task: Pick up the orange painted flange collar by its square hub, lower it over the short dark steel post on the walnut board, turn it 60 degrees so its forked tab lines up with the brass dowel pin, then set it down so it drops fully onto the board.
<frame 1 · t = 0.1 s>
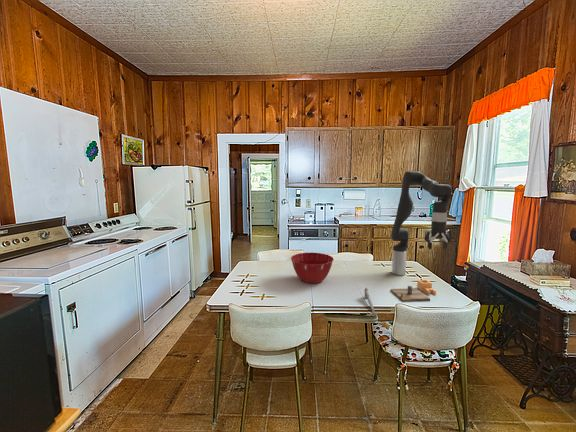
hand: (437, 248, 167), 29 cm above the table, fingers open, 8 cm apart
mixing bowl: (311, 280, 201), on the table
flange: (424, 289, 184), on the table
caliper: (369, 304, 162), on the table
post board: (409, 295, 174), on the table
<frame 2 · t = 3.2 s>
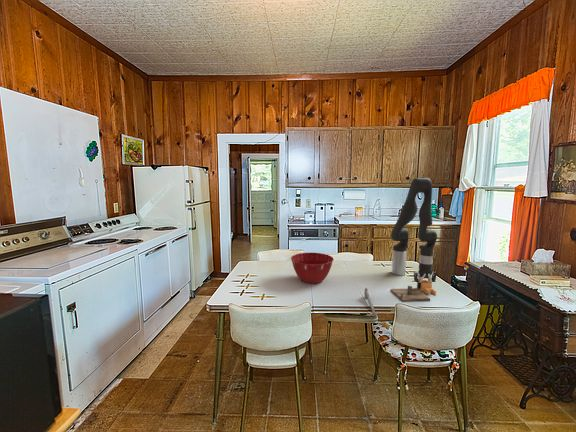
hand: (424, 288, 184), 1 cm above the table, fingers closed on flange, 6 cm apart
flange: (424, 289, 184), on the table, touching gripper
everything else where it was.
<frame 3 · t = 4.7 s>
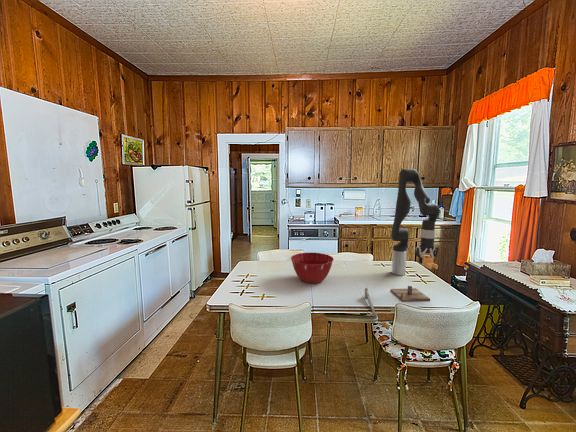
hand: (425, 263, 182), 17 cm above the table, fingers closed on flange, 6 cm apart
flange: (425, 264, 183), point 16 cm above the table, touching gripper
everything else where it was.
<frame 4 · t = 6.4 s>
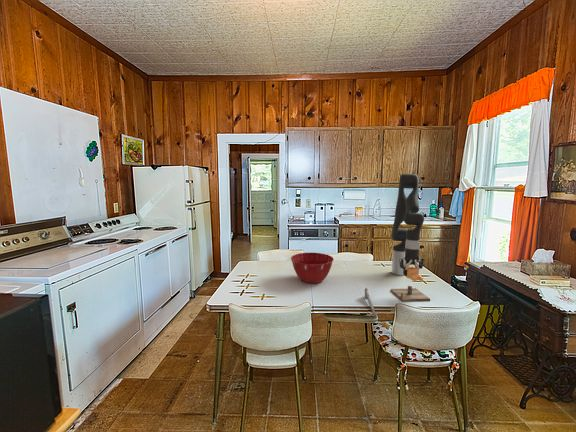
hand: (410, 275, 173), 12 cm above the table, fingers closed on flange, 6 cm apart
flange: (410, 276, 173), point 12 cm above the table, touching gripper
everything else where it was.
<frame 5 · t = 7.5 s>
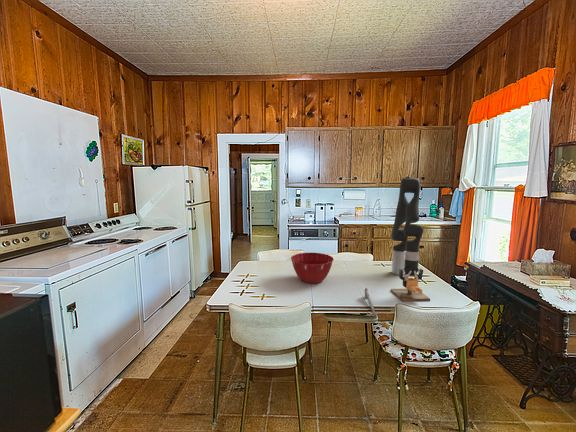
hand: (410, 286, 174), 6 cm above the table, fingers closed on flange, 6 cm apart
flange: (410, 287, 174), point 5 cm above the table, touching gripper
everything else where it was.
when the fingers open (3 cm above the table, at t = 9.5 s): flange drops 1 cm, resting on post board.
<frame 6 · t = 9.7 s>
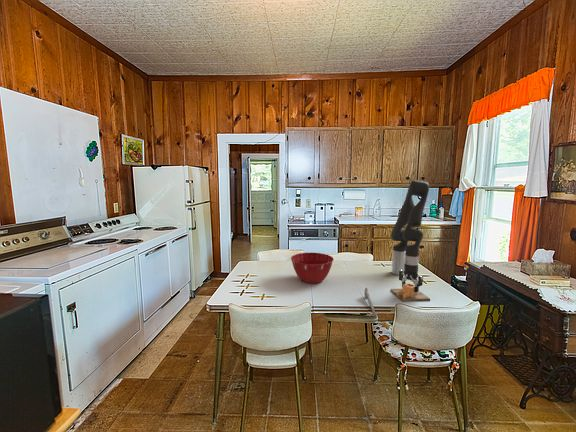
hand: (409, 290, 174), 3 cm above the table, fingers open, 7 cm apart
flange: (409, 293, 174), point 1 cm above the table, touching post board
everything else where it was.
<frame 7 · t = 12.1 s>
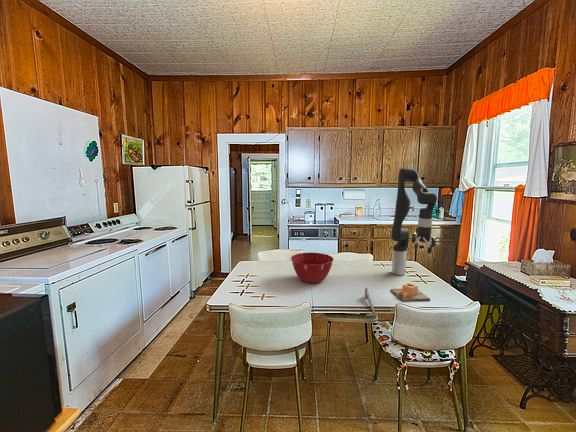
hand: (422, 251, 181), 24 cm above the table, fingers open, 8 cm apart
nothing on the table moved.
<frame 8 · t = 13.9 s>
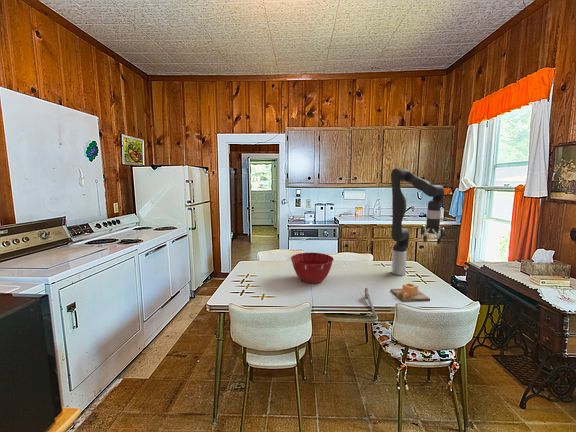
hand: (431, 243, 186), 28 cm above the table, fingers open, 8 cm apart
nothing on the table moved.
at the end: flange 0.1 cm from the post board (horizontally); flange point 1.2 cm above the table; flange tilted 0° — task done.
